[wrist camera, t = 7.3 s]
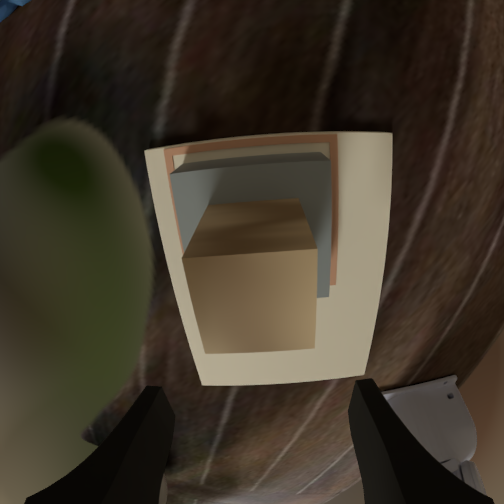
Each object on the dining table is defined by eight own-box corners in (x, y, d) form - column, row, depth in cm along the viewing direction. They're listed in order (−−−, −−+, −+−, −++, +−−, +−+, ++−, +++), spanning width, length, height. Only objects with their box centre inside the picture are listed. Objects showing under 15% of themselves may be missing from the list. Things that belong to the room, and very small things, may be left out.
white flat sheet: (388, 132, 14) (393, 133, 14) (362, 369, 22) (364, 375, 22) (148, 149, 15) (143, 151, 15) (203, 379, 23) (202, 386, 23)
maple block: (298, 198, 13) (317, 248, 9) (300, 276, 15) (314, 348, 11) (207, 205, 13) (181, 258, 9) (220, 281, 15) (204, 354, 11)
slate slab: (320, 151, 15) (331, 160, 12) (321, 272, 18) (329, 297, 16) (182, 163, 15) (169, 174, 13) (203, 280, 18) (195, 305, 16)
